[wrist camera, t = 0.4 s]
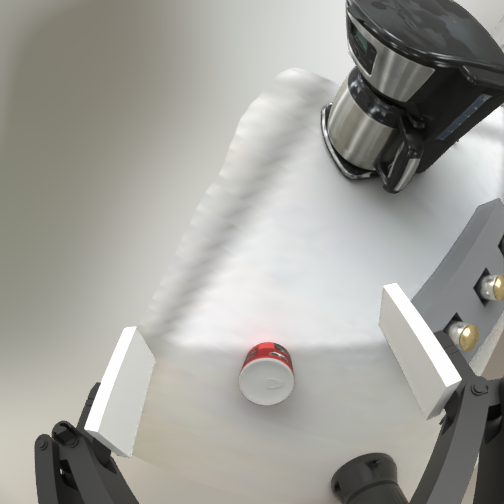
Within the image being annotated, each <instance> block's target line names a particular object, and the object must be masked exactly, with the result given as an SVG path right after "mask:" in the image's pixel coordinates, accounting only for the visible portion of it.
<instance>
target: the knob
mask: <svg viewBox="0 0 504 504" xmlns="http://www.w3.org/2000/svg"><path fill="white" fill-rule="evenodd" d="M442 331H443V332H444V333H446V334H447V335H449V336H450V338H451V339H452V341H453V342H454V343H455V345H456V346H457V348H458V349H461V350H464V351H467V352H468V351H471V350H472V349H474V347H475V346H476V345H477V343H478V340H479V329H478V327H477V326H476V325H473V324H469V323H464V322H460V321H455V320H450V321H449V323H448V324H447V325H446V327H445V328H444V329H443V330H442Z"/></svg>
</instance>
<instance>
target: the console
mask: <svg viewBox="0 0 504 504" xmlns="http://www.w3.org/2000/svg"><path fill="white" fill-rule="evenodd" d="M502 237H504V205H503V203H502V201H501V200H500V198H498V199H495V200H493V201H490V202H488V203H485V204H483V205H480V206H478V207H477V209H476V211H475V212H474V214H473V216H472V217H471V219H470V221H469V222H468V224H467V225H466V227H465V229H464V230H463V232H462V233H461V235H460V236H459V238H458V239H457V241H456V242H455V244H454V245H453V247H452V248H451V250H450V251H449V252H448V254H447V255H446V257H445V258H444V259H443V261H442V262H441V264H440V265H439V266H438V268H437V269H436V270H435V272H434V273H433V274H432V275H431V277H430V278H429V279H428V281H427V282H426V283H425V284H424V286H423V287H422V288H421V289H420V291H419V292H418V293H417V294H416V295H415V297H414V298H413V299H412V300H411V301H410V302H411V303H412V305H413V306H414V307H415V309H416V310H417V312H418V313H419V314H420V316H421V317H422V319H423V320H424V321H425V323H426V324H427V326H428V327H429V329H430V330H431V332H432V333H434V332H437V331H440V330H443V329H444V328H445V327H446V325H447V324H448V323H449V321H450V320H455V321H460V322H464V323H469V324H473V325H476V326H477V327H478V329H479V340H478V343H477V345H476V346H475V347H474V349H472V350H471V351H468V352H467V351H464V350H461V349H459V352H461V354H462V355H463V357H464V358H465V360H466V361H467V363H469V362H470V360H471V359H472V358H473V356H474V355H475V354H476V352H477V351H478V349H479V348H480V347H481V345H482V344H483V342H484V341H485V339H486V338H487V336H488V335H489V333H490V332H491V330H492V329H493V327H494V325H495V324H496V322H497V321H498V319H499V317H500V316H501V314H502V312H503V310H504V300H502V301H500V300H487V299H479V297H478V296H477V294H476V292H475V291H474V289H473V287H474V286H475V284H476V282H477V281H478V279H479V278H480V276H484V275H504V257H503V255H502V253H501V251H500V250H499V248H498V244H499V242H500V240H501V238H502Z"/></svg>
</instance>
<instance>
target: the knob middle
mask: <svg viewBox="0 0 504 504" xmlns="http://www.w3.org/2000/svg"><path fill="white" fill-rule="evenodd" d="M473 289H474V291H475V292H476V294H477V296H478V297H479V299H487V300H500V301H502V300H504V275H484V276H480V278H479V279H478V281H477V282H476V284H475V286H474V287H473Z"/></svg>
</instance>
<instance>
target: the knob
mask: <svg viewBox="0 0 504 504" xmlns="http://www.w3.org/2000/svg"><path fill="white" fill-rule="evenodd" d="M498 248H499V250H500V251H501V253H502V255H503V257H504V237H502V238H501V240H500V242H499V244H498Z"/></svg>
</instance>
